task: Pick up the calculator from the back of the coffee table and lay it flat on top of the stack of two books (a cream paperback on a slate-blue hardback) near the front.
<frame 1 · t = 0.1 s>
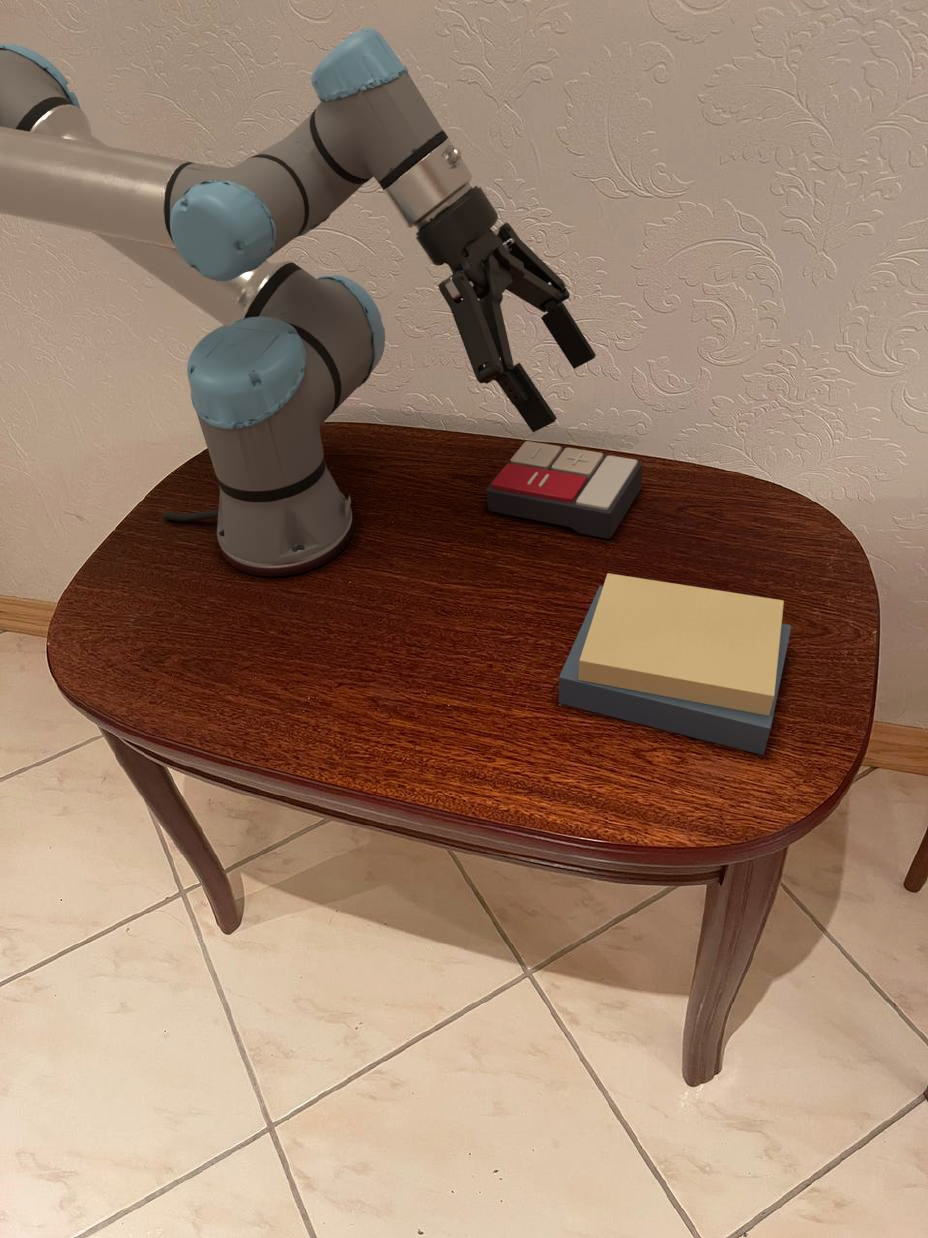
hand: (566, 392, 91), 15 cm above the table, tool tilted 35°, fingers open, 13 cm apart
calculator: (564, 500, 103), on the table
book stack: (673, 677, 82), on the table
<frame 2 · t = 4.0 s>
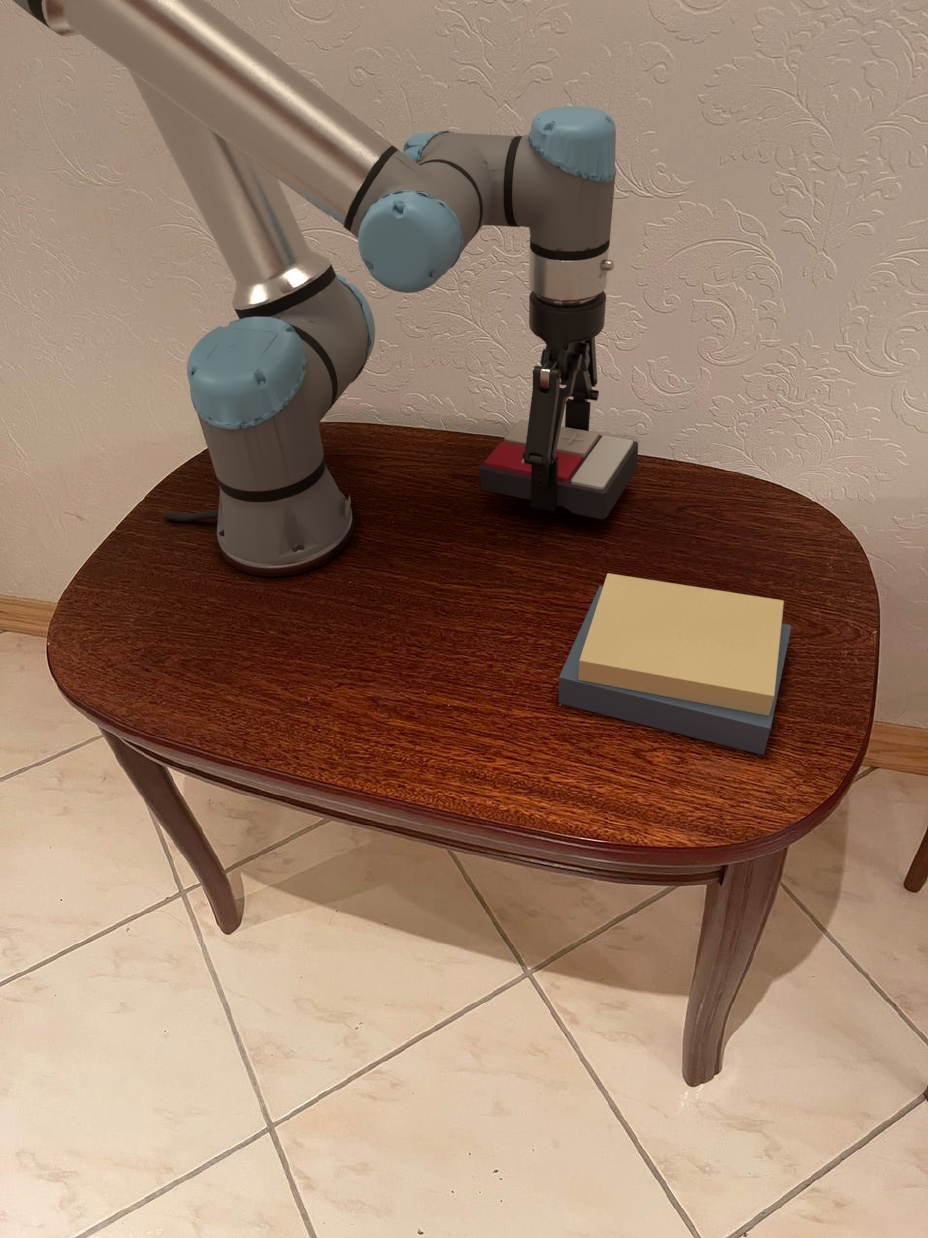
hand: (560, 478, 101), 3 cm above the table, tool pointing down, fingers closed on calculator, 11 cm apart
calculator: (558, 480, 102), point 2 cm above the table, touching gripper
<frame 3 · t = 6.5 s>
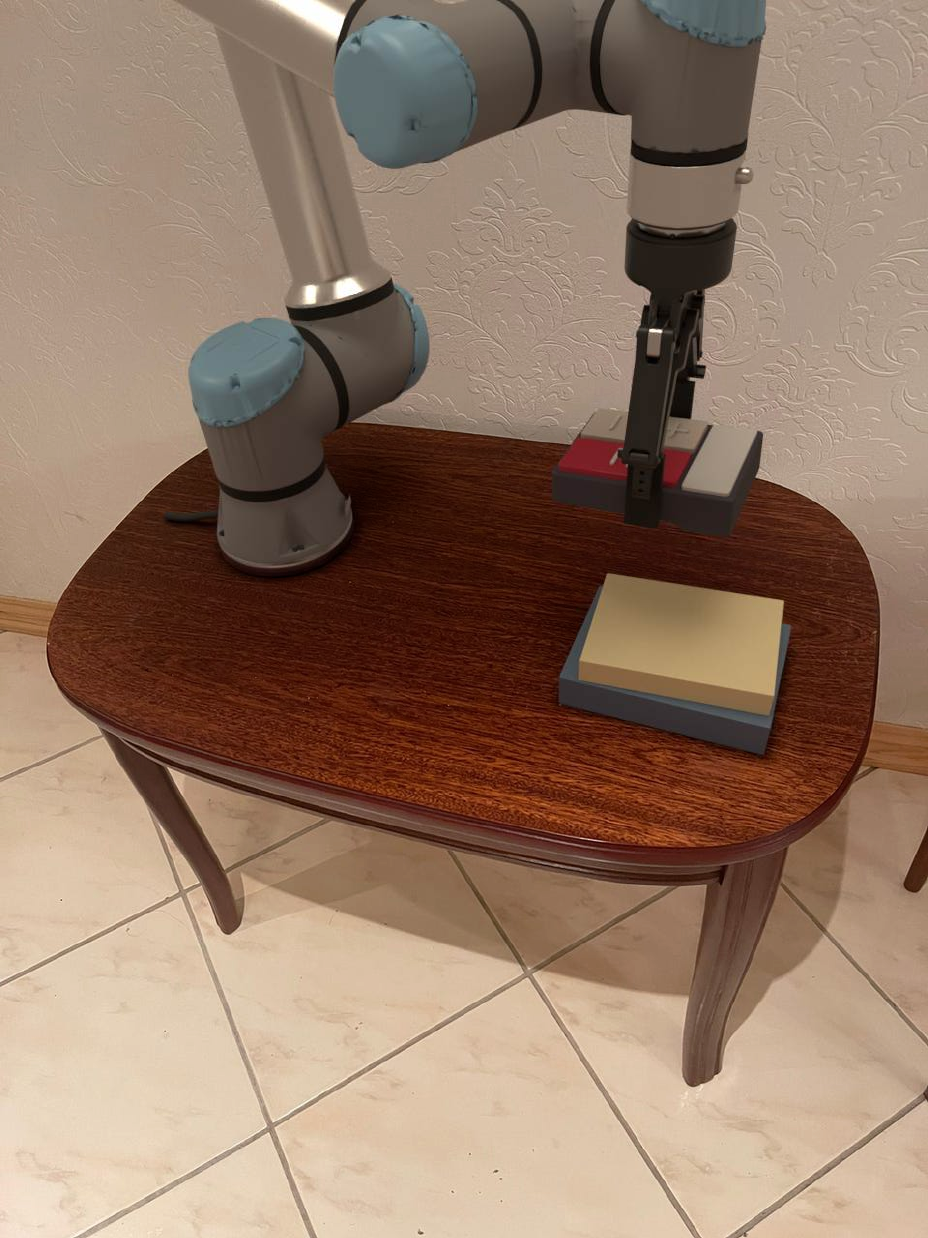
hand: (657, 483, 76), 16 cm above the table, tool pointing down, fingers closed on calculator, 11 cm apart
calculator: (655, 487, 76), point 16 cm above the table, touching gripper
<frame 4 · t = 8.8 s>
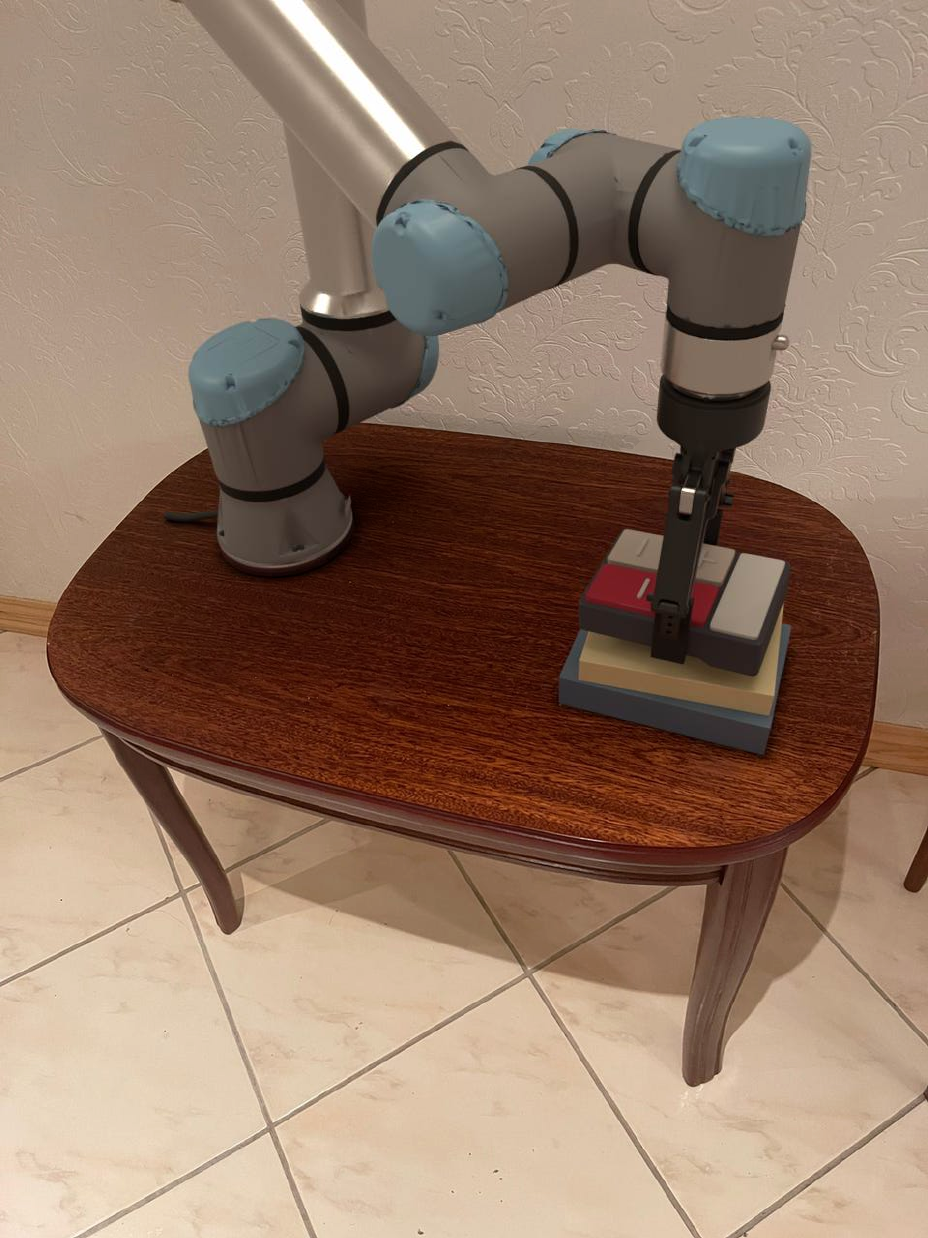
hand: (683, 610, 76), 8 cm above the table, tool pointing down, fingers closed on calculator, 11 cm apart
calculator: (682, 613, 76), point 8 cm above the table, touching gripper
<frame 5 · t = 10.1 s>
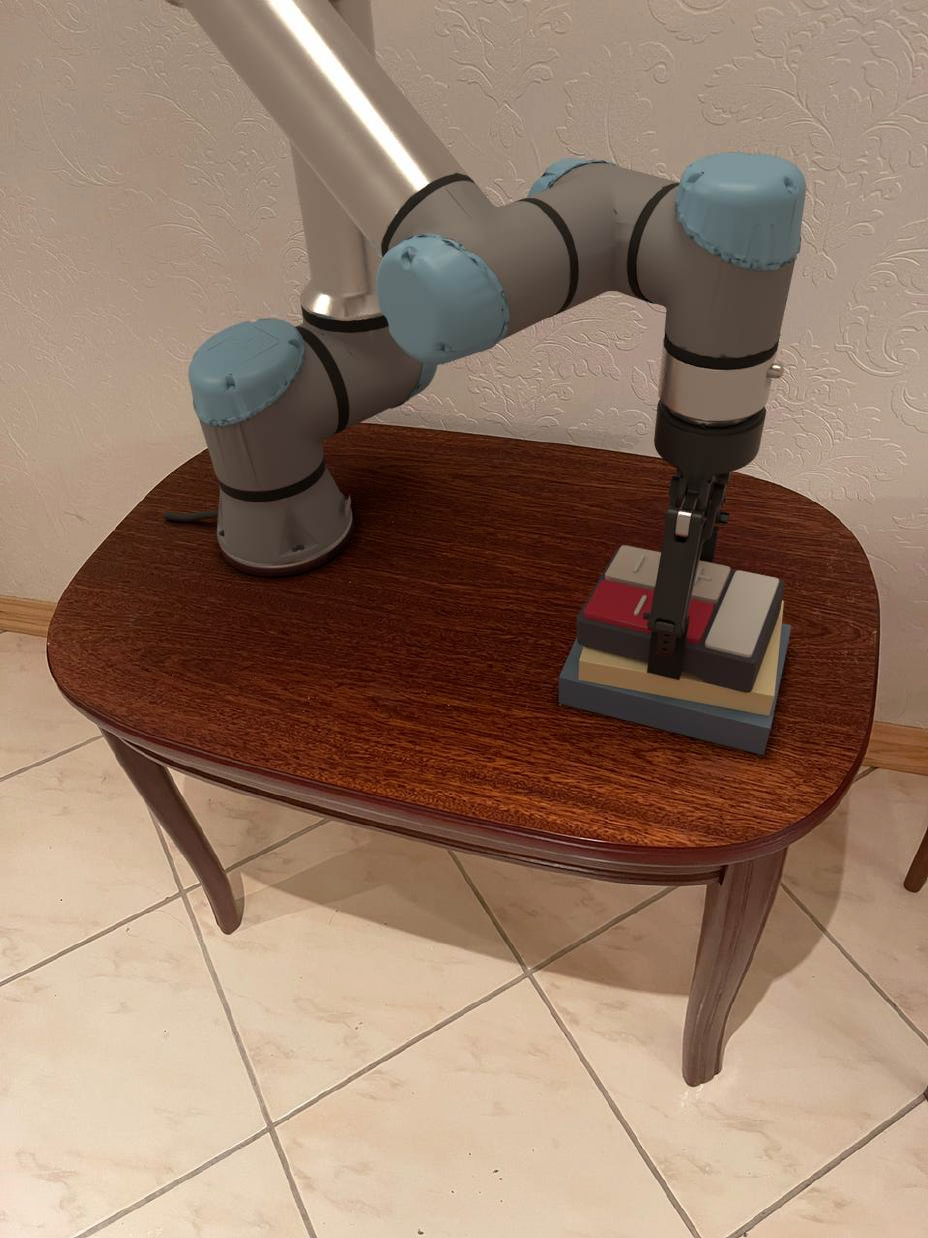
hand: (679, 626, 77), 6 cm above the table, tool pointing down, fingers closed on calculator, 11 cm apart
calculator: (677, 629, 78), point 6 cm above the table, touching gripper
when the fingers open (6 cm above the table, at t = 13.8 s): calculator stays where it is, resting on book stack.
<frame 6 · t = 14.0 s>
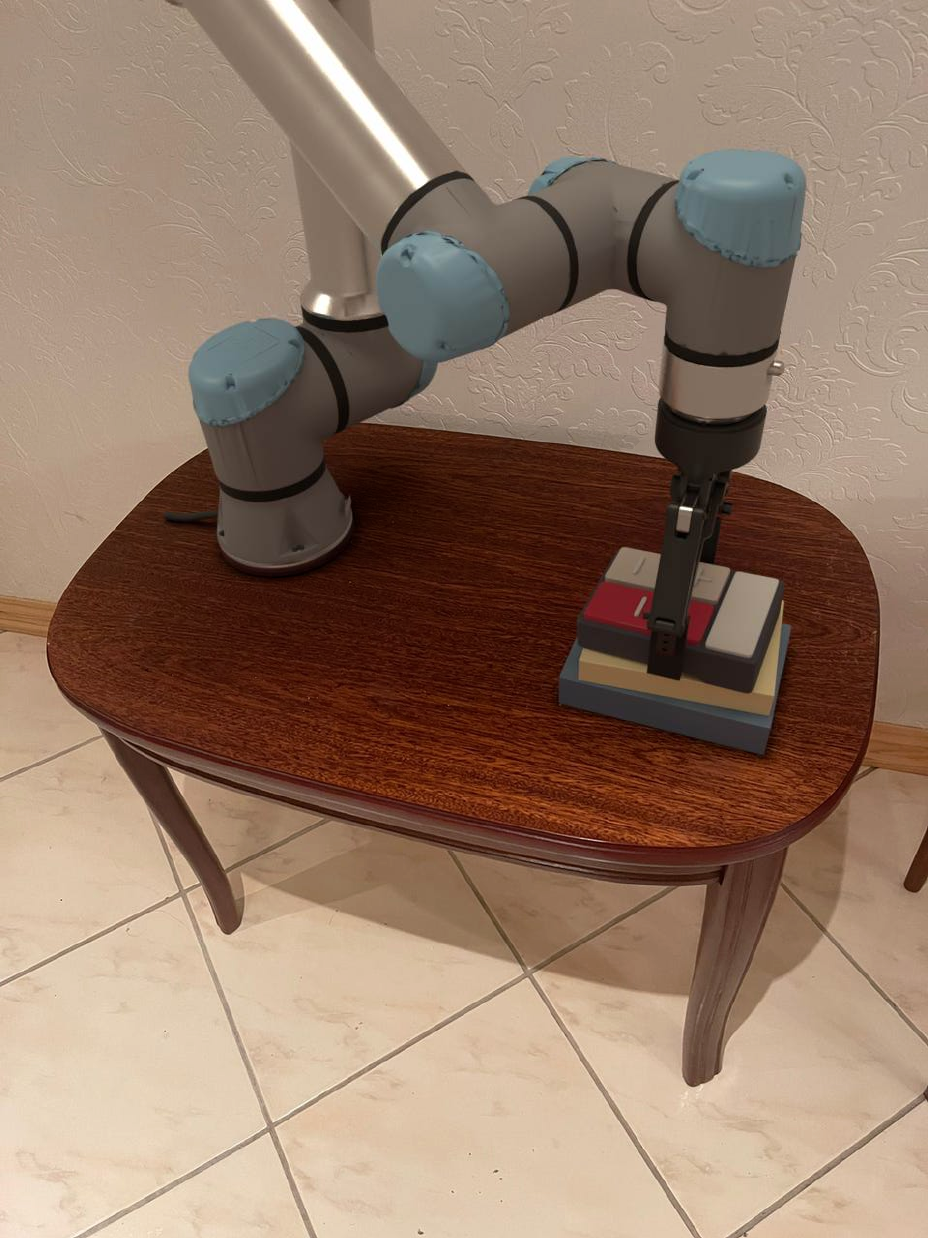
hand: (681, 622, 77), 7 cm above the table, tool pointing down, fingers open, 12 cm apart
calculator: (678, 630, 78), point 6 cm above the table, touching book stack
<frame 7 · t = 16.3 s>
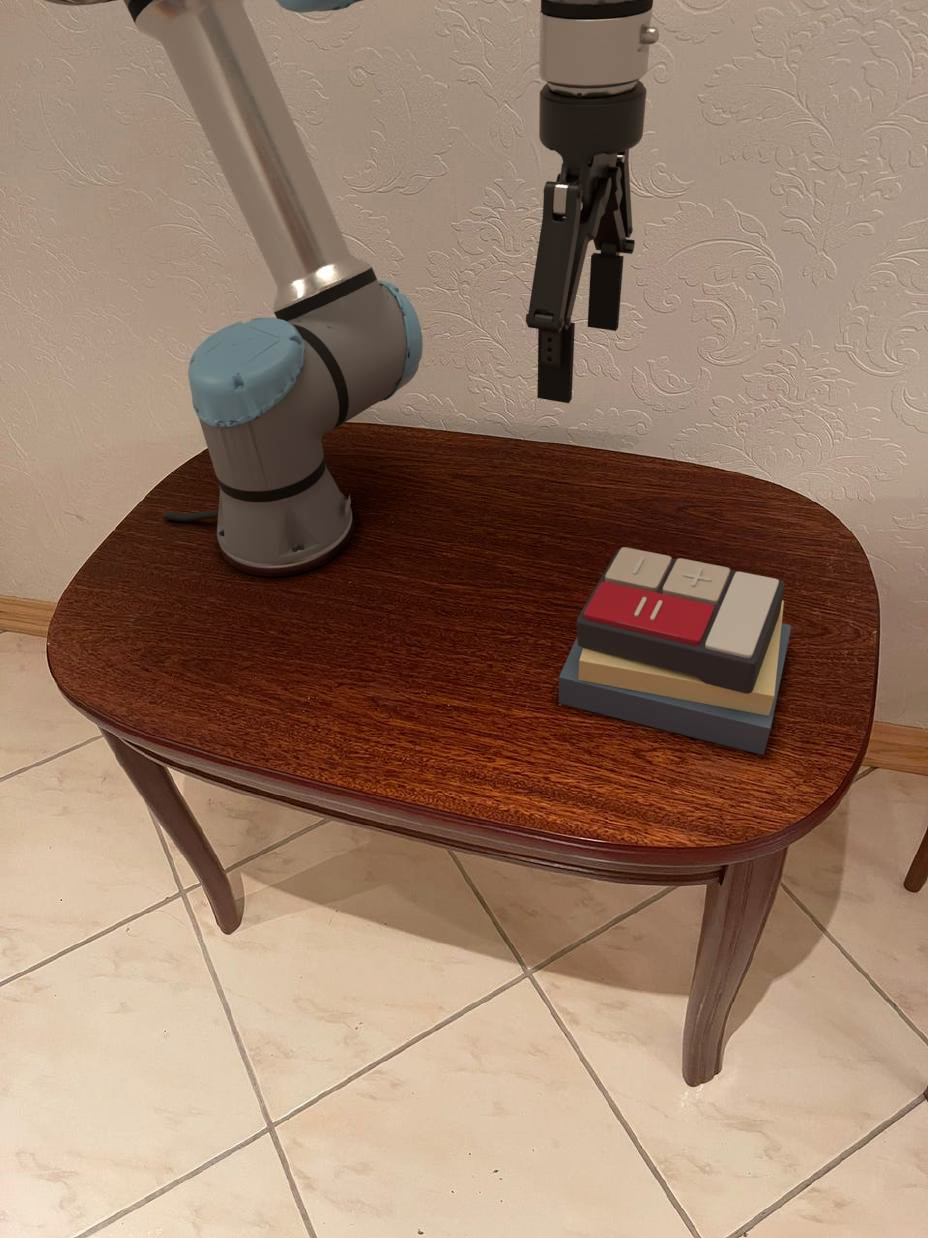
hand: (580, 361, 77), 24 cm above the table, tool pointing down, fingers open, 13 cm apart
nothing on the table moved.
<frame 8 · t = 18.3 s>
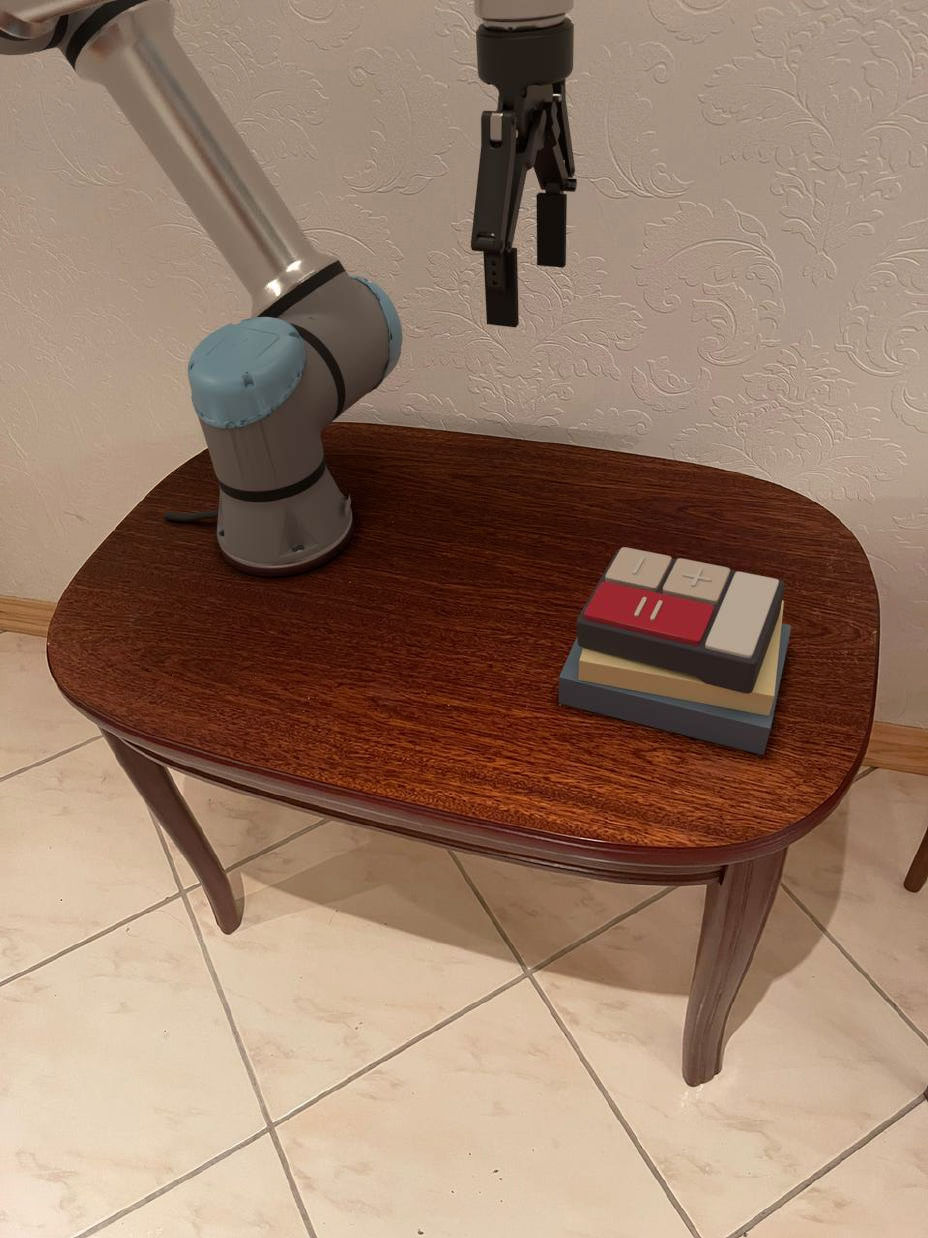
hand: (528, 293, 82), 27 cm above the table, tool pointing down, fingers open, 13 cm apart
nothing on the table moved.
at the end: calculator inside the target area on the book stack (0.2 cm from its centre), point 5.8 cm above the book stack's base; calculator tilted 0°; the gripper is holding nothing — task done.
